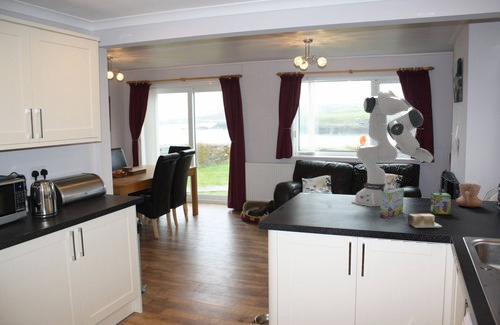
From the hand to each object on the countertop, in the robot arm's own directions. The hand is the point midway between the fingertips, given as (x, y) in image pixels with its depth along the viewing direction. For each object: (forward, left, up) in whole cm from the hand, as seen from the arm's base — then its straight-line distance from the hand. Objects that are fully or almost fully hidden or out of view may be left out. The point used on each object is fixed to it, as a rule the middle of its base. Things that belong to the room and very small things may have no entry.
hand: (421, 160), depth 221 cm
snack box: (-16, +3, -34) cm, 38 cm away
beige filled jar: (0, -15, -30) cm, 34 cm away
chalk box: (+5, +26, -34) cm, 43 cm away
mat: (+6, -10, -33) cm, 35 cm away
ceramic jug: (+15, +55, -34) cm, 66 cm away
